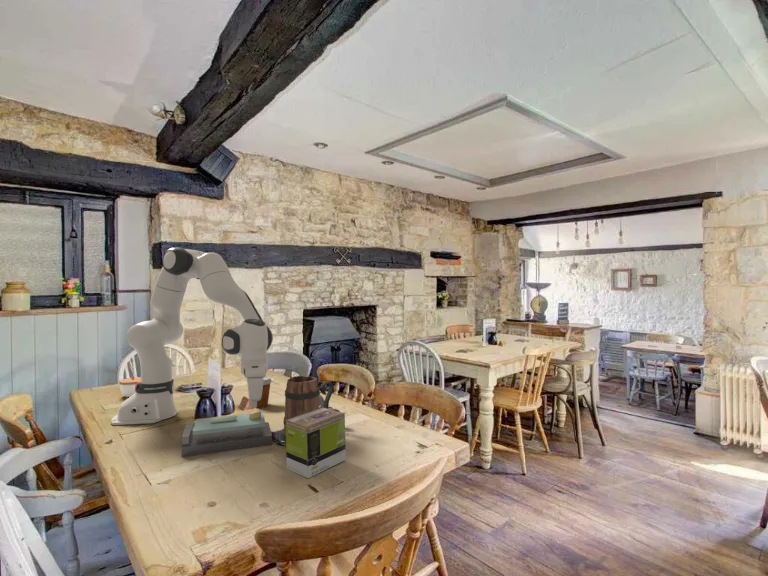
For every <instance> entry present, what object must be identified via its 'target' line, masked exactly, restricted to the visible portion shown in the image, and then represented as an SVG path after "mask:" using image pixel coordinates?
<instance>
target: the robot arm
mask: <svg viewBox="0 0 768 576" xmlns="http://www.w3.org/2000/svg"><path fill="white" fill-rule="evenodd" d="M162 257H163V258H162V260H161V261H162V262H161V263H162V267H161V270H160V272H159V273H158V276H157V278H156V282H155V283H154V287H153V290H152V294H151V298H150V301H149V303H150V306H151V307H152V308H153V317H152V319H149V320H145V321H144V320H143V321H140V322H138V323H135V324H134V325H132V326H131V327H130V328H129V329H128V330H127V333H126V340H127V343H128V345H129V346H130V347H131V348H133V349H134V351H135V352H136V353H137V357H138V359H139V364H140V377H141V381H138V382H137V383H136V385H135V391H136V392H135V393H134V394H133V395H131V396H130V397H129V398H126V399H125V400H124V401H122V403H120V405H119V408H118V411H117V414H115V415H114V416H113V417H112V418H111V420H110V424H111V426H112V425H113V426H123V425H126V426H127V425H141V424H142V425H144V424H154V423H158V422H160V421H162V420H163V421H164V420H166V419H169V418H172V417H174V416H176V415H177V414H178V412H177V409H176V405H175V399H174V392H175V383H174V379H173V361H172V359H171V357H169V356H168V354H167V353H166V349H165V348H166V347H165V346H166V345H171V344H173V343H175V342H176V341H178V340H179V339H180V338H182V337H183V335H184V334H183V333H184V327H183V324H182V323H181V317H180V315H181V308H182V303H183V300H184V296H185V294H186V290H187V287H188V283H189V281H190V280H191V279H196V280H199V282H200V285H201V287H202V291H203V293H204V294H205V296H206V297H207V298H208V299H209V300H211V301H213V302H214V303H217V304H220V305H225V306H227V307H228V306H229V307H230V308H233V309H235V310H236V311H238V313H240V314H241V317H242V319H243V321H242V323H241V324H238V325H237V326H234V327H232V328H229V329H226V331H225V332H224V333H223V335H222V337H221V347H222V349H223V350H224V352H225V353H226V354H228V355H230V356H237V355H241V357H240V373H241V374H242V375H243V376H244V378H245V379H246V384H247V392H248V398H249V399H248V401H250V405H251V409H256V407H257V401H260V400H261V397H262V390H263V380H264V376H267V375H266V374H267V372H268V370H269V364H268V362H269V361H268V359H269V356H268V352H267V351H268V350H269V349H270V347H271V345H272V343H273V339H274V336H273V333H272V331H271V329H270V328H269V327H268V326H267V324H266V322H265V321H264V320H263V318H262V316H261V315H260V313H259V311H258V309H257V308H256V307H255V304H254V303H253V301H252V299H251V297H250V296H249V295H248V293H247V292H246V291H245V290H244V289H243V288H241V287H240V286H239V285H238V284H237V283H236V281H235V280H234V277H233V275H232V273H231V271H230V269H229V267H228V265H227V263H226V262H225V260H224V259H223V257H222V256H221V255H220V254H218V253H217V252H204V251H201V250H197V249H189V248H183V247H170V248H168V249H167V250H166V251H165V252H164V254H163V255H162Z"/></svg>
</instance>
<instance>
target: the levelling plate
mask: <svg viewBox="0 0 768 576" xmlns="http://www.w3.org/2000/svg"><path fill="white" fill-rule="evenodd" d="M265 422H266V420H265V416H264V411H261V410H252V411H249V413H242V414H232V415H224V416H213V417H212V416H211V417H202V418H196V419H195V422H194V424H193V435H197V434H206V433H214V432H223V431H232V430H240V429H249V428H257V427H265Z"/></svg>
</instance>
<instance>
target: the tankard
mask: <svg viewBox="0 0 768 576" xmlns="http://www.w3.org/2000/svg"><path fill="white" fill-rule="evenodd" d="M327 385H328V391H327ZM334 387H335V386H334V384H333V383H332V381H329V380H325V381H323V382H322V383H321V384H320V386H319V383H318V379H317V377H314V376H305V375H296V376H292V377H290V378H288V379H287V382H286V387H285V390H284V397H285V399H284V416H283V428H282V429H281V431H280V433H279V434H280V435H279V434H278V435H279V437H280V439H281V440H283V441H285V442H286V420H287V419H290V418H293V417H296V416H299V415H302V414H305V413H308V412H311V411H314V410H317V409H319V407H320V406H319V391H321V393H320V394H322V395H324V396H325V397H324V401H325V402H324V408H327V409H328V407H330V405H329V403H330V400H331V397H332V395H333V393H334V389H335V388H334ZM333 410H334V411H338V412H341V411H340V410H339V409H337V408H333Z"/></svg>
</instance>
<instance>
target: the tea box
mask: <svg viewBox="0 0 768 576" xmlns="http://www.w3.org/2000/svg"><path fill="white" fill-rule="evenodd" d="M345 418H346V416H345V412H341V411H340V412H338V411H334V410H330V409H327V408H324V407H323V408H320V409H317V410H314V411H311V412H308V413H305V414H302V415H299V416H296V417H293V418H290V419H287V420H286V443H285V457H286V462H285V464H286V469H287V470H289V471H290V472H293V473H295V474H297V475H298V476H299V475H300V476H301V477H304V478H305V479H309V478H312V477H314V476H316V475H318V474H320V473H321V472H324V471H326V470H328V469H330V468H332V467H334V466H336V465H338V464H340V463H343V462H344V461H346V460H347V458H346V457H347V455H346V453H347V452H346V451H347V450H346V420H345Z"/></svg>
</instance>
